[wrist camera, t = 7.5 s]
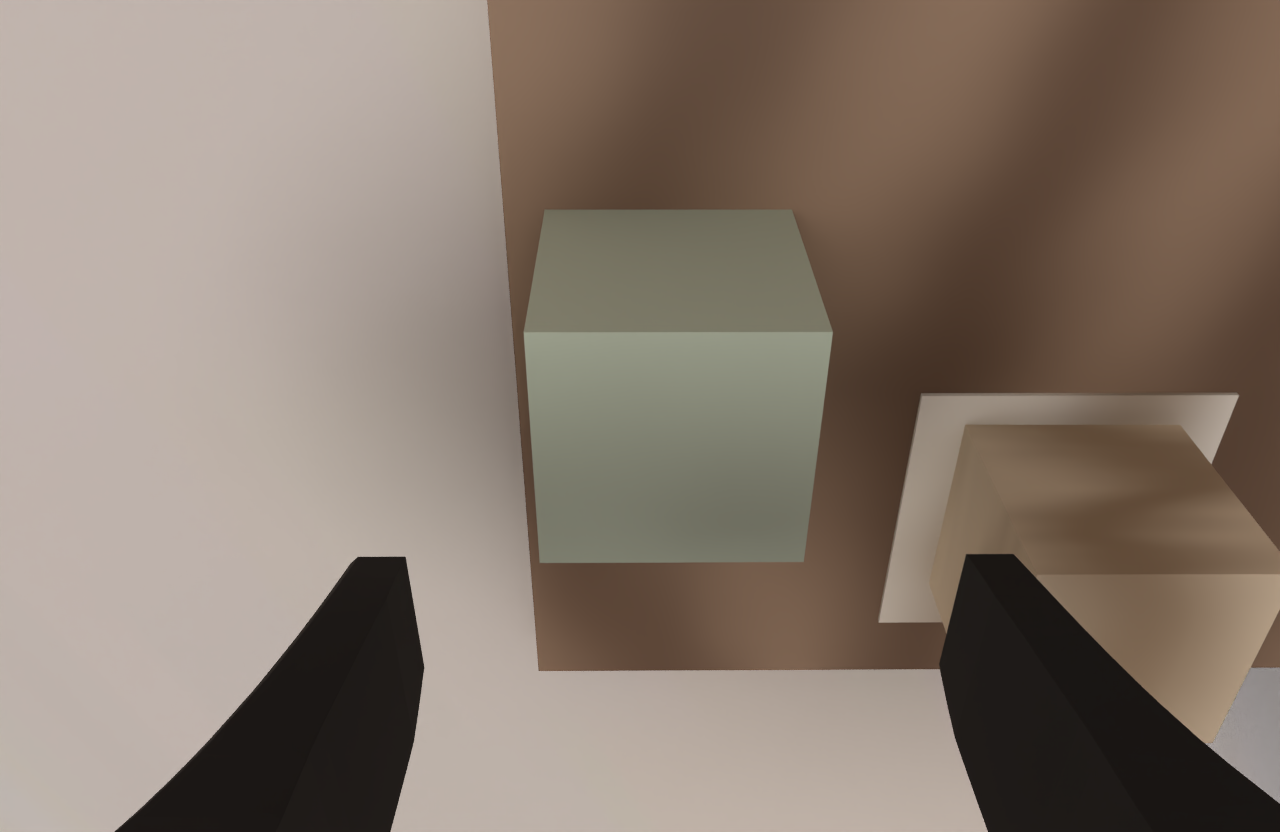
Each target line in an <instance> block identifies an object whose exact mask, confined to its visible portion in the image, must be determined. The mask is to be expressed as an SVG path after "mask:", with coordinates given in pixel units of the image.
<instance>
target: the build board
mask: <svg viewBox="0 0 1280 832" xmlns="http://www.w3.org/2000/svg"><path fill="white" fill-rule="evenodd" d="M487 2H488V15H489V28H490V41H491V54H492V67H493V80H494V93H495V107H496V120H497V133H498V146H499V159H500V172H501V185H502V198H503V211H504V224H505V237H506V250H507V263H508V276H509V289H510V302H511V315H512V328H513V341H514V354H515V367H516V380H517V393H518V407H519V420H520V433H521V446H522V459H523V472H524V485H525V498H526V511H527V524H528V537H529V550H530V563H531V576H532V589H533V602H534V615H535V628H536V641H537V654H538V667H539V671H618V670H831V669H940V666H939V662H940V658H941V654H942V650H943V646H944V642H945V638H946V631H945V628H944V625H943V622H942V619H941V616H940V614H939V611H938V608H937V605H936V602H935V599H934V596H933V593H932V591H931V588H930V585H929V581H930V576H931V572H932V568H933V563H934V559H935V555H936V550H937V546H938V541H939V537H940V533H941V528H942V524H943V520H944V515H945V511H946V506H947V502H948V498H949V493H950V489H951V485H952V480H953V476H954V471H955V467H956V463H957V458H958V454H959V450H960V445H961V441H962V437H963V432H964V428H965V425H1181V426H1182V428H1183V429H1184V430H1185V432H1186V433H1187V434H1188V435H1189V437H1190V438H1191V439H1192V440H1193V442H1194V443H1195V444H1196V446H1197V447H1198V448H1199V449H1200V451H1201V452H1202V453H1203V454H1204V456H1205V457H1206V458H1207V460H1208V461H1209V462H1210V463H1211V465H1212V466H1213V467H1214V468H1215V470H1216V471H1217V472H1218V474H1219V475H1220V476H1221V477H1222V479H1223V480H1224V481H1225V482H1226V484H1227V485H1228V486H1229V488H1230V489H1231V490H1232V491H1233V493H1234V494H1235V495H1236V497H1237V498H1238V499H1239V500H1240V502H1241V503H1242V504H1243V505H1244V507H1245V508H1246V509H1247V511H1248V512H1249V513H1250V514H1251V516H1252V517H1253V518H1254V519H1255V521H1256V522H1257V523H1258V525H1259V526H1260V527H1261V528H1262V530H1263V531H1264V532H1265V533H1266V535H1267V536H1268V537H1269V539H1270V540H1271V541H1272V542H1273V544H1274V545H1275V546H1276V547H1277V549H1278V550H1279V551H1280V0H487ZM545 210H792V211H793V214H794V217H795V220H796V223H797V226H798V229H799V232H800V235H801V238H802V241H803V244H804V247H805V250H806V253H807V256H808V259H809V262H810V265H811V268H812V271H813V274H814V277H815V280H816V283H817V286H818V289H819V292H820V295H821V298H822V301H823V304H824V307H825V310H826V313H827V316H828V319H829V322H830V325H831V328H832V331H833V335H832V343H831V351H830V359H829V367H828V375H827V383H826V391H825V398H824V406H823V414H822V422H821V430H820V438H819V446H818V453H817V461H816V469H815V477H814V485H813V493H812V501H811V509H810V516H809V524H808V532H807V540H806V548H805V556H804V562H682V563H540V560H539V545H538V531H537V517H536V502H535V488H534V474H533V459H532V445H531V431H530V416H529V402H528V388H527V373H526V359H525V345H524V327H525V322H526V316H527V310H528V304H529V298H530V292H531V287H532V281H533V275H534V269H535V263H536V257H537V252H538V246H539V240H540V234H541V228H542V223H543V217H544V211H545ZM1258 667H1280V610H1279V612H1278V614H1277V616H1276V618H1275V620H1274V622H1273V624H1272V626H1271V628H1270V630H1269V632H1268V634H1267V636H1266V638H1265V640H1264V642H1263V644H1262V646H1261V648H1260V650H1259V652H1258V654H1257V656H1256V658H1255V660H1254V662H1253V664H1252V666H1251V668H1258Z"/></svg>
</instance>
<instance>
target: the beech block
mask: <svg viewBox="0 0 1280 832" xmlns="http://www.w3.org/2000/svg"><path fill="white" fill-rule="evenodd" d="M966 554H1014V555H1015V556H1016V557H1017V558H1018V559H1019V560H1020V561H1021V562H1022V563H1023V564H1024V566H1025V567H1026V568H1027V569H1028V570H1029V571H1030V572H1031V573H1032V574H1033V575H1034V576H1035V577H1036V578H1037V579H1038V580H1039V581H1040V582H1041V584H1042V585H1043V586H1044V587H1045V588H1046V589H1047V590H1048V591H1049V592H1050V593H1051V594H1052V595H1053V596H1054V597H1055V598H1056V599H1057V601H1058V602H1059V603H1060V604H1061V605H1062V606H1063V607H1064V608H1065V609H1066V610H1067V611H1068V612H1069V613H1070V614H1071V615H1072V616H1073V617H1074V618H1075V620H1076V621H1077V622H1078V623H1079V624H1080V625H1081V626H1082V627H1083V628H1084V629H1085V630H1086V631H1087V632H1088V633H1089V634H1090V635H1091V636H1092V637H1093V638H1094V639H1095V640H1096V641H1097V642H1098V643H1099V644H1100V645H1101V646H1102V647H1103V649H1104V650H1105V651H1106V652H1107V653H1108V654H1109V655H1110V656H1111V657H1112V658H1114V659H1115V660H1116V661H1117V662H1118V663H1119V664H1120V665H1121V666H1122V667H1123V668H1124V669H1125V670H1126V671H1127V672H1128V673H1129V674H1130V675H1131V676H1132V677H1133V678H1134V679H1135V680H1136V681H1137V682H1138V683H1139V684H1140V685H1141V686H1142V687H1143V688H1144V689H1145V690H1146V691H1147V692H1148V693H1149V694H1150V695H1152V696H1153V697H1154V698H1155V699H1156V700H1157V701H1158V702H1159V703H1160V704H1161V705H1162V706H1163V707H1164V708H1166V709H1167V710H1168V711H1169V712H1170V713H1171V714H1172V715H1173V716H1174V717H1176V718H1177V719H1178V720H1179V721H1180V722H1181V723H1182V724H1183V725H1185V726H1186V727H1187V728H1188V729H1189V730H1190V731H1191V732H1192V733H1193V734H1195V735H1196V736H1197V737H1198V738H1199V739H1200V740H1201V741H1202V742H1204V743H1213V741H1214V739H1215V737H1216V735H1217V733H1218V731H1219V729H1220V727H1221V725H1222V723H1223V721H1224V719H1225V717H1226V715H1227V713H1228V711H1229V709H1230V707H1231V705H1232V703H1233V701H1234V699H1235V697H1236V695H1237V693H1238V691H1239V689H1240V687H1241V685H1242V683H1243V681H1244V679H1245V677H1246V675H1247V673H1248V671H1249V669H1250V668H1251V666H1252V664H1253V662H1254V660H1255V658H1256V656H1257V654H1258V652H1259V650H1260V648H1261V646H1262V644H1263V642H1264V640H1265V638H1266V636H1267V634H1268V632H1269V630H1270V628H1271V626H1272V624H1273V622H1274V620H1275V618H1276V616H1277V614H1278V612H1279V610H1280V551H1279V550H1278V549H1277V547H1276V546H1275V545H1274V544H1273V542H1272V541H1271V540H1270V539H1269V537H1268V536H1267V535H1266V533H1265V532H1264V531H1263V530H1262V528H1261V527H1260V526H1259V525H1258V523H1257V522H1256V521H1255V519H1254V518H1253V517H1252V516H1251V514H1250V513H1249V512H1248V511H1247V509H1246V508H1245V507H1244V505H1243V504H1242V503H1241V502H1240V500H1239V499H1238V498H1237V497H1236V495H1235V494H1234V493H1233V491H1232V490H1231V489H1230V488H1229V486H1228V485H1227V484H1226V482H1225V481H1224V480H1223V479H1222V477H1221V476H1220V475H1219V474H1218V472H1217V471H1216V470H1215V468H1214V467H1213V466H1212V465H1211V463H1210V462H1209V461H1208V460H1207V458H1206V457H1205V456H1204V454H1203V453H1202V452H1201V451H1200V449H1199V448H1198V447H1197V446H1196V444H1195V443H1194V442H1193V440H1192V439H1191V438H1190V437H1189V435H1188V434H1187V433H1186V432H1185V430H1184V429H1183V428H1182V426H1181V425H965V428H964V432H963V437H962V441H961V445H960V450H959V454H958V458H957V463H956V467H955V471H954V476H953V480H952V485H951V489H950V493H949V498H948V502H947V506H946V511H945V515H944V520H943V524H942V528H941V533H940V537H939V541H938V546H937V550H936V555H935V559H934V563H933V568H932V572H931V576H930V581H929V585H930V588H931V591H932V593H933V596H934V599H935V602H936V605H937V608H938V611H939V614H940V616H941V619H942V622H943V625H944V628H945V631H946V634H947V630H948V625H949V621H950V617H951V613H952V609H953V605H954V601H955V597H956V593H957V589H958V585H959V581H960V577H961V573H962V569H963V565H964V560H965V556H966Z"/></svg>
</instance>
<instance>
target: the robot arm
mask: <svg viewBox="0 0 1280 832" xmlns="http://www.w3.org/2000/svg"><path fill="white" fill-rule="evenodd" d="M939 666H940V671H941V676H942V681H943V686H944V691H945V696H946V700H947V705H948V709H949V714H950V718H951V722H952V727H953V731H954V735H955V739H956V742H957V745H958V748H959V751H960V754H961V757H962V760H963V762H964V765H965V768H966V771H967V774H968V777H969V779H970V782H971V785H972V788H973V791H974V794H975V797H976V799H977V802H978V805H979V808H980V810H981V813H982V816H983V819H984V822H985V824H986V827H987V830H988V832H1280V804H1279V803H1278V802H1277V801H1275V800H1274V799H1273V798H1272V797H1270V796H1269V795H1268V794H1267V793H1265V792H1264V791H1263V790H1262V789H1260V788H1259V787H1258V786H1256V785H1255V784H1254V783H1253V782H1251V781H1250V780H1249V779H1248V778H1246V777H1245V776H1244V775H1243V774H1241V773H1240V772H1239V771H1237V770H1236V769H1235V768H1234V767H1232V766H1231V765H1230V764H1229V763H1227V762H1226V761H1225V760H1224V759H1223V758H1221V757H1220V756H1219V755H1218V754H1217V753H1215V752H1214V751H1213V750H1212V749H1211V748H1209V747H1208V746H1207V745H1206V744H1205V743H1204V742H1202V741H1201V740H1200V739H1199V738H1198V737H1197V736H1196V735H1195V734H1193V733H1192V732H1191V731H1190V730H1189V729H1188V728H1187V727H1186V726H1185V725H1183V724H1182V723H1181V722H1180V721H1179V720H1178V719H1177V718H1176V717H1174V716H1173V715H1172V714H1171V713H1170V712H1169V711H1168V710H1167V709H1166V708H1164V707H1163V706H1162V705H1161V704H1160V703H1159V702H1158V701H1157V700H1156V699H1155V698H1154V697H1153V696H1152V695H1150V694H1149V693H1148V692H1147V691H1146V690H1145V689H1144V688H1143V687H1142V686H1141V685H1140V684H1139V683H1138V682H1137V681H1136V680H1135V679H1134V678H1133V677H1132V676H1131V675H1130V674H1129V673H1128V672H1127V671H1126V670H1125V669H1124V668H1123V667H1122V666H1121V665H1120V664H1119V663H1118V662H1117V661H1116V660H1115V659H1114V658H1112V657H1111V656H1110V655H1109V654H1108V653H1107V652H1106V651H1105V650H1104V649H1103V647H1102V646H1101V645H1100V644H1099V643H1098V642H1097V641H1096V640H1095V639H1094V638H1093V637H1092V636H1091V635H1090V634H1089V633H1088V632H1087V631H1086V630H1085V629H1084V628H1083V627H1082V626H1081V625H1080V624H1079V623H1078V622H1077V621H1076V620H1075V618H1074V617H1073V616H1072V615H1071V614H1070V613H1069V612H1068V611H1067V610H1066V609H1065V608H1064V607H1063V606H1062V605H1061V604H1060V603H1059V602H1058V601H1057V599H1056V598H1055V597H1054V596H1053V595H1052V594H1051V593H1050V592H1049V591H1048V590H1047V589H1046V588H1045V587H1044V586H1043V585H1042V584H1041V582H1040V581H1039V580H1038V579H1037V578H1036V577H1035V576H1034V575H1033V574H1032V573H1031V572H1030V571H1029V570H1028V569H1027V568H1026V567H1025V566H1024V564H1023V563H1022V562H1021V561H1020V560H1019V559H1018V558H1017V557H1016V556H1015V555H1014V554H966V556H965V560H964V565H963V569H962V573H961V577H960V581H959V585H958V589H957V593H956V597H955V601H954V605H953V609H952V613H951V617H950V621H949V625H948V630H947V634H946V638H945V642H944V646H943V650H942V654H941V658H940V662H939ZM423 672H424V663H423V657H422V651H421V645H420V639H419V634H418V628H417V622H416V616H415V610H414V604H413V598H412V592H411V586H410V581H409V575H408V569H407V563H406V557H357V558H356V559H355V560H354V561H353V562H352V563H351V564H350V565H349V567H348V568H347V569H346V571H345V572H344V574H343V575H342V576H341V578H340V579H339V581H338V582H337V583H336V585H335V586H334V588H333V589H332V590H331V592H330V593H329V595H328V596H327V597H326V599H325V600H324V601H323V603H322V604H321V606H320V607H319V608H318V610H317V611H316V612H315V614H314V615H313V616H312V618H311V619H310V620H309V622H308V623H307V624H306V626H305V627H304V628H303V629H302V631H301V632H300V633H299V635H298V636H297V637H296V639H295V640H294V641H293V642H292V644H291V645H290V646H289V647H288V649H287V650H286V651H285V652H284V654H283V655H282V656H281V657H280V659H279V660H278V661H277V662H276V664H275V665H274V666H273V667H272V668H271V670H270V671H269V672H268V673H267V675H266V676H265V677H264V678H263V680H262V681H261V682H260V683H259V684H258V686H257V687H256V688H255V689H254V690H253V692H252V693H251V694H250V695H249V696H248V697H247V698H246V700H245V701H244V702H243V703H242V704H241V705H240V706H239V707H238V708H237V710H236V711H235V712H234V713H233V714H232V715H231V716H230V717H229V719H228V720H227V721H226V722H225V723H224V724H223V725H222V726H221V728H220V729H219V730H218V731H217V732H216V733H215V734H214V735H213V737H212V738H211V739H210V740H209V741H208V742H207V743H206V744H205V745H204V746H203V747H202V748H201V749H200V750H199V751H198V752H197V754H196V755H195V756H194V757H193V758H192V759H191V760H190V761H189V762H188V763H187V764H186V765H185V766H184V767H183V768H182V769H181V770H180V771H179V772H178V773H177V774H176V775H175V776H174V777H173V778H172V779H171V780H170V781H169V782H168V783H167V784H166V785H165V786H164V787H163V788H162V789H161V790H159V791H158V792H157V793H156V794H155V795H154V796H153V797H152V798H151V799H150V800H149V801H148V802H147V803H146V804H145V805H144V806H143V807H142V808H141V809H140V810H138V811H137V812H136V813H135V814H134V815H133V816H132V817H131V818H129V819H128V820H127V821H126V822H125V823H124V824H123V825H122V826H120V827H119V828H118V829H117V830H116V831H115V832H390V831H391V827H392V823H393V820H394V816H395V812H396V808H397V805H398V801H399V797H400V793H401V789H402V785H403V782H404V778H405V774H406V770H407V766H408V762H409V758H410V754H411V750H412V747H413V743H414V737H415V730H416V723H417V717H418V710H419V703H420V695H421V687H422V680H423Z"/></svg>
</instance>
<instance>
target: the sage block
mask: <svg viewBox="0 0 1280 832" xmlns="http://www.w3.org/2000/svg"><path fill="white" fill-rule="evenodd" d="M832 335H833V331H832V328H831V325H830V322H829V319H828V316H827V313H826V310H825V307H824V304H823V301H822V298H821V295H820V292H819V289H818V286H817V283H816V280H815V277H814V274H813V271H812V268H811V265H810V262H809V259H808V256H807V253H806V250H805V247H804V244H803V241H802V238H801V235H800V232H799V229H798V226H797V223H796V220H795V217H794V214H793V211H792V210H545V211H544V217H543V223H542V228H541V234H540V240H539V246H538V252H537V257H536V263H535V269H534V275H533V281H532V287H531V292H530V298H529V304H528V310H527V316H526V322H525V327H524V345H525V359H526V373H527V388H528V402H529V416H530V431H531V445H532V459H533V474H534V488H535V502H536V517H537V531H538V545H539V560H540V563H682V562H804V556H805V548H806V540H807V532H808V524H809V516H810V509H811V501H812V493H813V485H814V477H815V469H816V461H817V453H818V446H819V438H820V430H821V422H822V414H823V406H824V398H825V391H826V383H827V375H828V367H829V359H830V351H831V343H832Z"/></svg>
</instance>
